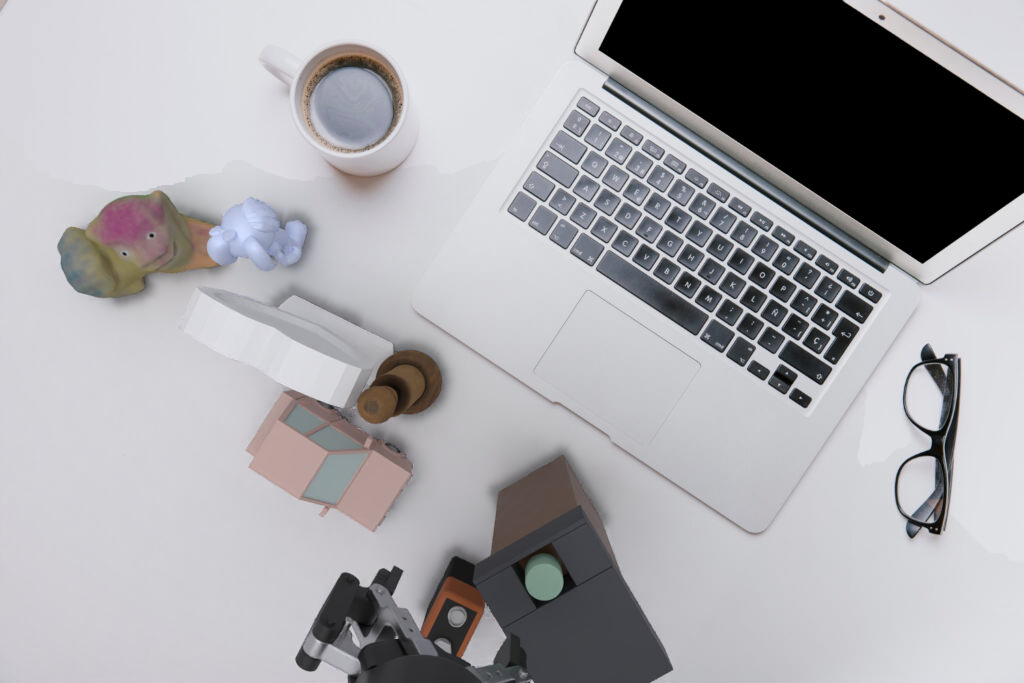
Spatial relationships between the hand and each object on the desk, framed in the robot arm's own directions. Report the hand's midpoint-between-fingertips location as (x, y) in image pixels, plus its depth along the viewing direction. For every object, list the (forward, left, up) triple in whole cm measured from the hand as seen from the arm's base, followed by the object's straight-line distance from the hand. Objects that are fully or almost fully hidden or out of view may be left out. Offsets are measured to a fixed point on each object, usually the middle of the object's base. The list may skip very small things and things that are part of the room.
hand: (449, 613), depth 43 cm
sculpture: (+39, +16, -28) cm, 51 cm away
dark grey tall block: (-6, -6, -28) cm, 29 cm away
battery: (-8, +7, -28) cm, 30 cm away
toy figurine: (+33, +4, -28) cm, 43 cm away
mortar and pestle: (+14, 0, -28) cm, 31 cm away
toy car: (+11, +10, -28) cm, 32 cm away
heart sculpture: (+21, +5, -28) cm, 35 cm away
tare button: (-2, -6, -5) cm, 8 cm away
